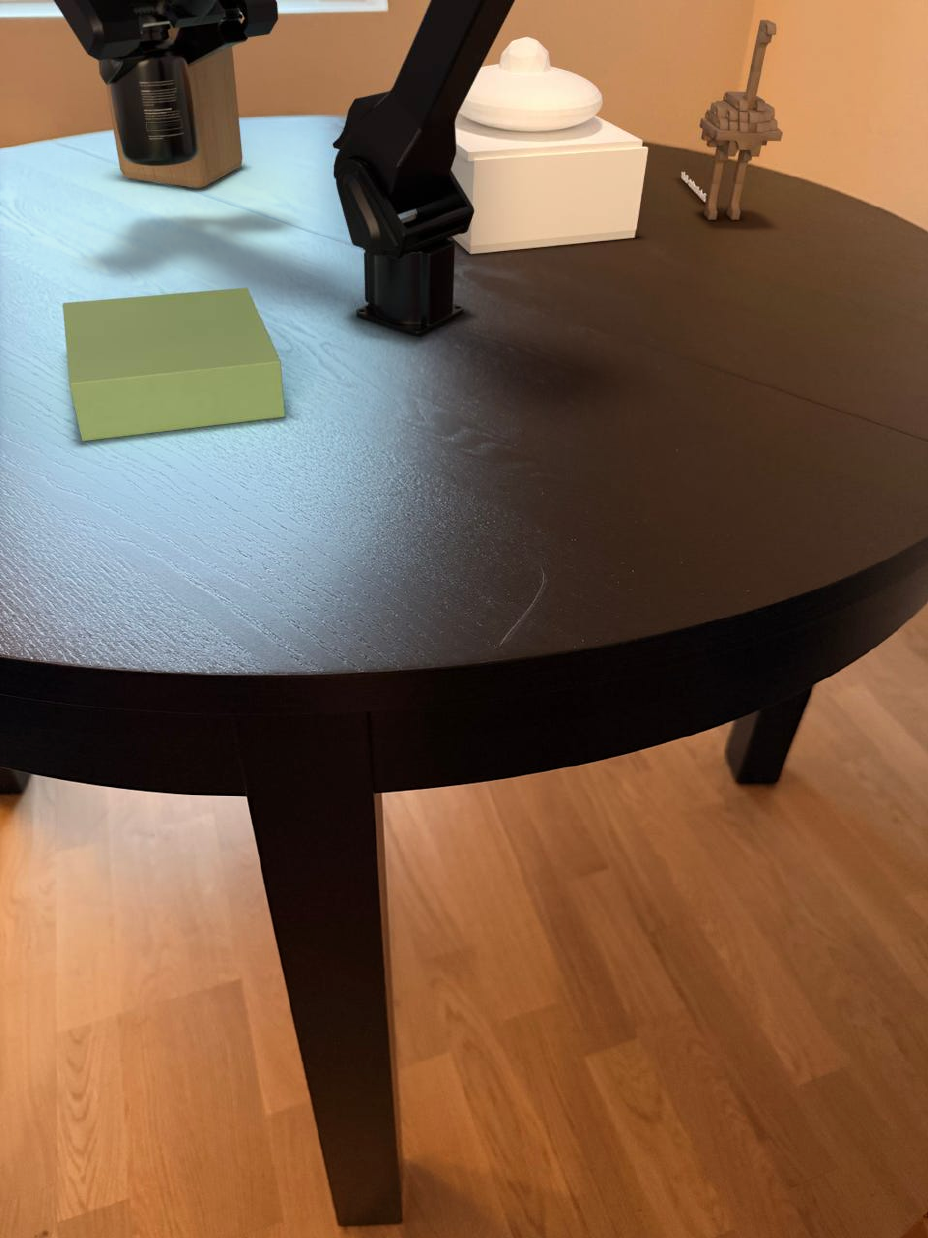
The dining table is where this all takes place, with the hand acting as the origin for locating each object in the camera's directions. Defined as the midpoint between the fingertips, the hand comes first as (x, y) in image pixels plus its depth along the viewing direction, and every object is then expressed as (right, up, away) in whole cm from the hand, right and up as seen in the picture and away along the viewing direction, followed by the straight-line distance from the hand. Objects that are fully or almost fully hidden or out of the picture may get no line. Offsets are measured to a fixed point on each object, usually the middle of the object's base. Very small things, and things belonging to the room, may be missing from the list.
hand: (139, 73), depth 87 cm
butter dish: (+34, -7, +14) cm, 37 cm away
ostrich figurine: (+54, -3, +21) cm, 58 cm away
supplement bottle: (+1, -6, +4) cm, 7 cm away
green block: (+8, -31, -17) cm, 37 cm away
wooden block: (-2, +1, +21) cm, 21 cm away
